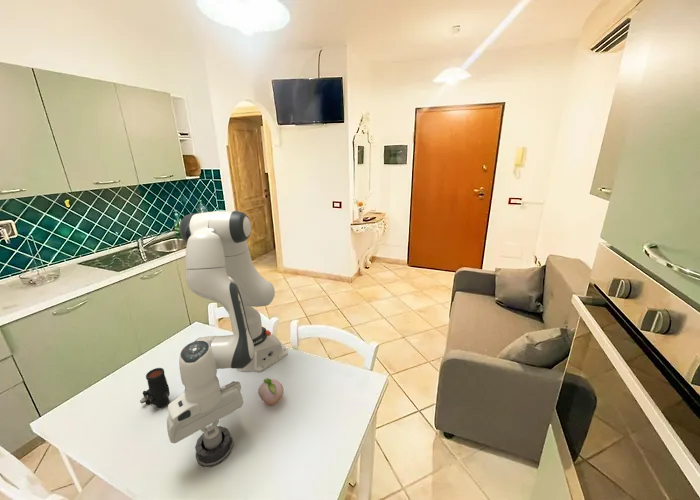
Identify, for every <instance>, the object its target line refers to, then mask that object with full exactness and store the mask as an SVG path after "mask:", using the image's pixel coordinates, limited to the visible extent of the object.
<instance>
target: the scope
mask: <svg viewBox="0 0 700 500" xmlns="http://www.w3.org/2000/svg"><path fill="white" fill-rule="evenodd" d="M145 379H146V381H147V386H148V389H147V390H143V391H142V395H143V397H142V398H141V399H140V400H139V403H140V404H145V405H147V406H149V405H153V406H155V407H156V408H157V409H159V410H160V409H164V408H165V407H168V405H169V404H170V398H169V396H170V395H171V394H170V387H169V384H168V381H167V377H166V375H165V369H164V368H162V367H156V368H153V369H151V370H149V371H148V372H147V373H146V374H145Z"/></svg>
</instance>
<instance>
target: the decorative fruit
mask: <svg viewBox="0 0 700 500" xmlns="http://www.w3.org/2000/svg"><path fill="white" fill-rule="evenodd" d="M257 391H258V392H257V394H258V396H259V398H260V400H261V401H263V403H264V404H266V405H267V406H276V405H278V404H279V403H280V401H281V400H282V398H283V396H284V393H285V391H284V385H283V383H281V382H280V380H278V379H276V378H268V377H267V378H264V379H263V382H262V383H260V385H259V387H258V390H257Z"/></svg>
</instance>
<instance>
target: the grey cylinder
mask: <svg viewBox="0 0 700 500" xmlns="http://www.w3.org/2000/svg"><path fill="white" fill-rule="evenodd" d="M216 428H217V431H216V432H215V433H213V434H211V435H209V436H208V437H207V436H206V434H205V433H204V432H202V434H203V441H204V446H205V450H206V451H210V450H214V449H216V448H218V447H219V446H220V445H221V444H222V443H223V439H222V434H221V429H220V427H219V425H217V427H216Z"/></svg>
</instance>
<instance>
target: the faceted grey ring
mask: <svg viewBox="0 0 700 500" xmlns="http://www.w3.org/2000/svg"><path fill="white" fill-rule="evenodd" d="M218 426H219V425H218ZM219 427H220V429H221V434H222V439H223V443H222V444H221V445H220V446H219V447H218V448H216V449H214V450H210V451H206V450H205V446H204V441H203V433H201V435H200V436H199V437H198V438H197V440H196V443H195V447H194V448H195V459H196V462H197V464H198V465H199V466H201V467H203V468H212V467H215V466H218V465H219V464H222V463H223V462H224V461H225V460H226V459H228V457H229V456H230V455H231V454H232V451H233V449H234V442H233V440H234V439H233V437H232V436H231V435H232V433H231V432H230V431H229V428H226V427H225V426H221V425H220V426H219Z"/></svg>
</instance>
